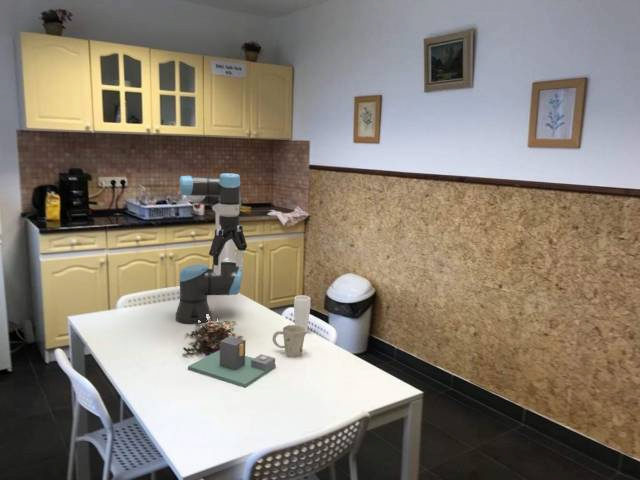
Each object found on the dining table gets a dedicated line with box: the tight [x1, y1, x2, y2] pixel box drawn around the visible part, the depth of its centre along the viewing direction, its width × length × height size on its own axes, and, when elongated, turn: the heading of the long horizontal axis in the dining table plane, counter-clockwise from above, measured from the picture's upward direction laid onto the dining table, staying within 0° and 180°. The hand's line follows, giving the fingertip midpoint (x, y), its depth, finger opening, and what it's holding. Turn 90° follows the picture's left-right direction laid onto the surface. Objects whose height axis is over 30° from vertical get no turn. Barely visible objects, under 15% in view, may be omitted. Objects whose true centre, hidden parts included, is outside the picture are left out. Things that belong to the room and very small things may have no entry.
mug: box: [271, 324, 306, 358], centre depth 193 cm, size 8×13×10 cm, turn 78°
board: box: [187, 349, 277, 388], centre depth 178 cm, size 24×18×4 cm
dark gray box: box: [219, 335, 247, 370], centre depth 177 cm, size 7×6×9 cm
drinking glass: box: [293, 294, 311, 334], centre depth 215 cm, size 7×7×15 cm
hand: (228, 270), depth 198 cm, fingers open, 13 cm apart
